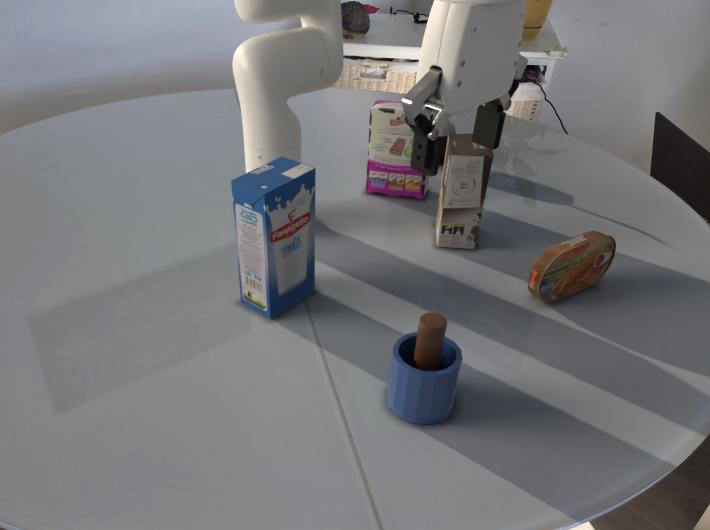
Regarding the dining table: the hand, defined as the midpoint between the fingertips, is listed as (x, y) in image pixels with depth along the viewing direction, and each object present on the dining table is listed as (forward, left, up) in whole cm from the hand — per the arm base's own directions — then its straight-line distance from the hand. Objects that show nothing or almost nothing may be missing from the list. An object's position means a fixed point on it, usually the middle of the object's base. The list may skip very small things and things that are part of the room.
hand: (454, 158), depth 68 cm
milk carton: (-23, -6, -28) cm, 37 cm away
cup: (+6, -7, -28) cm, 29 cm away
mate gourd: (-39, +48, -28) cm, 68 cm away
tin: (+4, +27, -28) cm, 39 cm away
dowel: (+6, -7, -27) cm, 28 cm away
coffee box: (-17, +28, -28) cm, 43 cm away
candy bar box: (-35, +33, -28) cm, 56 cm away
